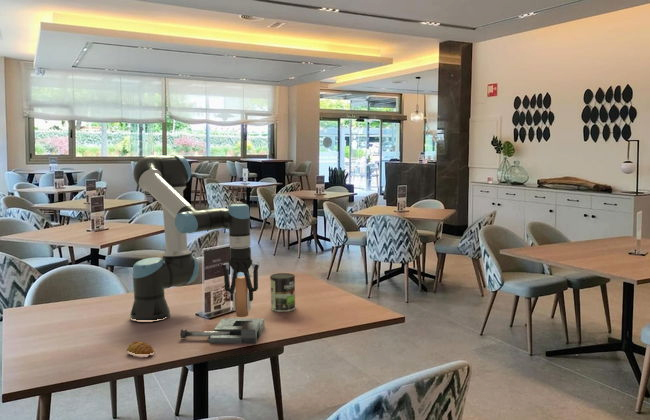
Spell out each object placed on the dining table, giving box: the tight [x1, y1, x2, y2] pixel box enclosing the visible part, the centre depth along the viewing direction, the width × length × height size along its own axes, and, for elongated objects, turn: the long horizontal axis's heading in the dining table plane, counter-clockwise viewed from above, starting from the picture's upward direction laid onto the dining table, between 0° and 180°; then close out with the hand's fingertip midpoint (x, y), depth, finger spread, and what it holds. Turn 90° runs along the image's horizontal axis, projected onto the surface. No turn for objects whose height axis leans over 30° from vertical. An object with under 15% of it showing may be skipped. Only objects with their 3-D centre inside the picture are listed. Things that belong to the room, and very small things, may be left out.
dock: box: [206, 317, 265, 344], centre depth 205 cm, size 18×18×5 cm
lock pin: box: [179, 329, 230, 339], centre depth 201 cm, size 17×3×3 cm, turn 87°
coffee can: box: [269, 272, 296, 313], centre depth 237 cm, size 10×10×14 cm
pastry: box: [126, 340, 155, 354], centre depth 187 cm, size 9×7×4 cm
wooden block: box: [234, 275, 249, 318], centre depth 207 cm, size 4×4×14 cm
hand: (242, 309), depth 207 cm, fingers closed on wooden block, 4 cm apart
